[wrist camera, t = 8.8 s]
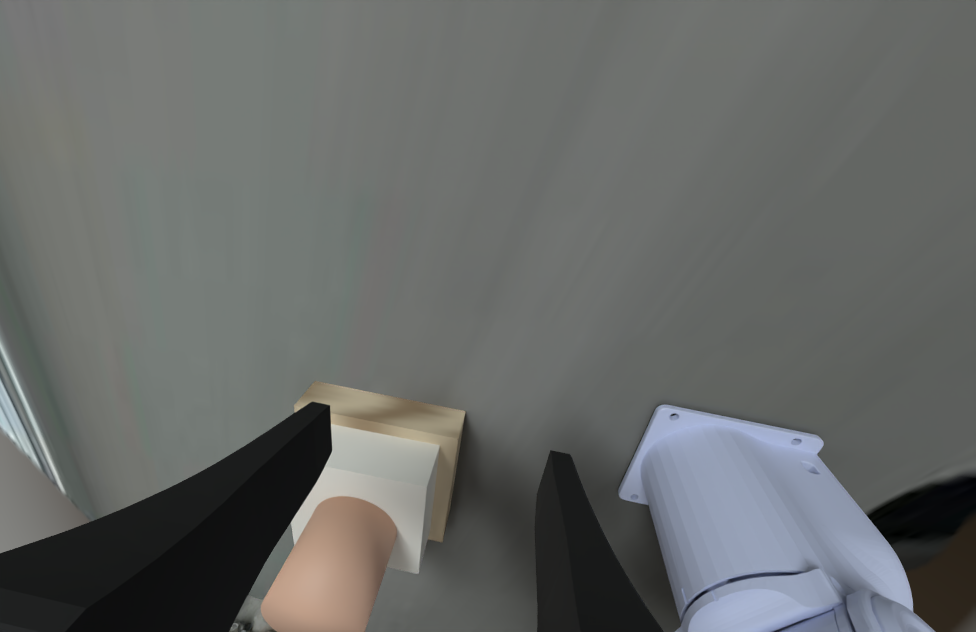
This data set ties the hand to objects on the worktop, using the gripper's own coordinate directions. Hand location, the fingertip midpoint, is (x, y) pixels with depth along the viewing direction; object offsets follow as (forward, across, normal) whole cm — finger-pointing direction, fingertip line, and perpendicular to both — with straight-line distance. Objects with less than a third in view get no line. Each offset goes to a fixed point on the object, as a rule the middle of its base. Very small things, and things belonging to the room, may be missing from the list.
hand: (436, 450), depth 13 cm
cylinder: (+5, +5, +13) cm, 14 cm away
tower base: (+11, +5, +12) cm, 17 cm away
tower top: (+8, +5, +12) cm, 15 cm away
